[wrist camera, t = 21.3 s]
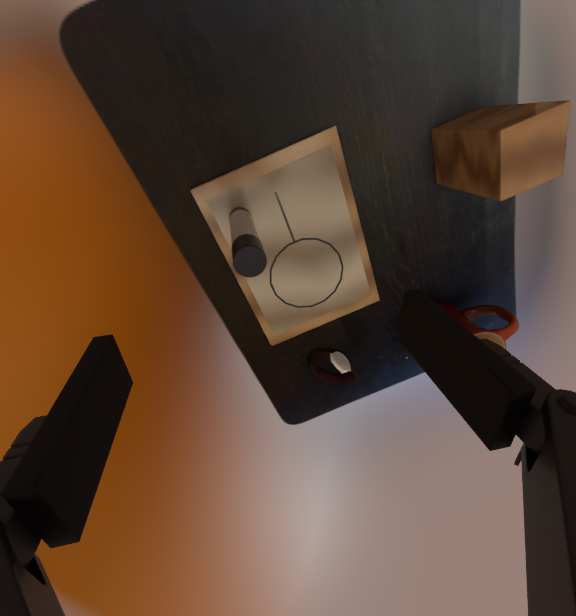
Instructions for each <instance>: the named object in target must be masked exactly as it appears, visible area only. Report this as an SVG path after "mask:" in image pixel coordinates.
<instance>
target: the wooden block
mask: <svg viewBox="0 0 576 616" xmlns="http://www.w3.org/2000/svg"><path fill="white" fill-rule="evenodd" d="M569 109H570V101H569V100H568V101H555V102H541V103H528V104H513V105H500V106H486V107H481V108H479V109H476V110H474V111H472V112H470V113H467V114H465V115H463V116H460V117H458V118H456V119H454V120H451V121H449V122H447V123H444V124H442V125H440V126H438V127H435V128H433V129H431V136H432V145H433V154H434V163H435V173H436V182H437V184H438V185H442V186H446V187H450V188H453V189H457V190H461V191H464V192H468V193H472V194H476V195H479V196H483V197H487V198H491V199H494V200H498V201H502V200H505V199H507V198H509V197H512V196H514V195H516V194H519V193H521V192H523V191H526V190H528V189H530V188H533V187H535V186H537V185H540V184H542V183H544V182H547V181H549V180H551V179H554V178H556V177H558V176H561V175H563V169H564V159H565V149H566V139H567V129H568V119H569Z"/></svg>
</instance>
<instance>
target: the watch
mask: <svg viewBox="0 0 576 616" xmlns="http://www.w3.org/2000/svg"><path fill="white" fill-rule="evenodd" d="M318 360H327V361H330V362H331V363H333V364H334V366H335V367H336V368H337V369H338V370H339V371H341V373H342V374H343V372H344V373H346V372H348V371H350V372H349V373H347V374H344V375H334V374H330V373H327V372H325V371H323V370H321V369H320V368H317V367H316V366H315V365H313V363H314V362H315V361H318ZM310 364H311V370H312V372H313V373H314V374H315V375H316V376H318V377H319V378H321V379H322V380H327V381H329V382H332V383H337V384H344V383H349V382H352V381H353V380H354V379H355V373H354V370H353V367H352V365H351V364H350V363H349V361H348V359H347V358H346V357H345V356H344V355H343V354H342V353H340V352H334V353H332V354H331V353H327V352H322V351H321V352H316V353H314V354H312V356H311V358H310Z"/></svg>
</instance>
